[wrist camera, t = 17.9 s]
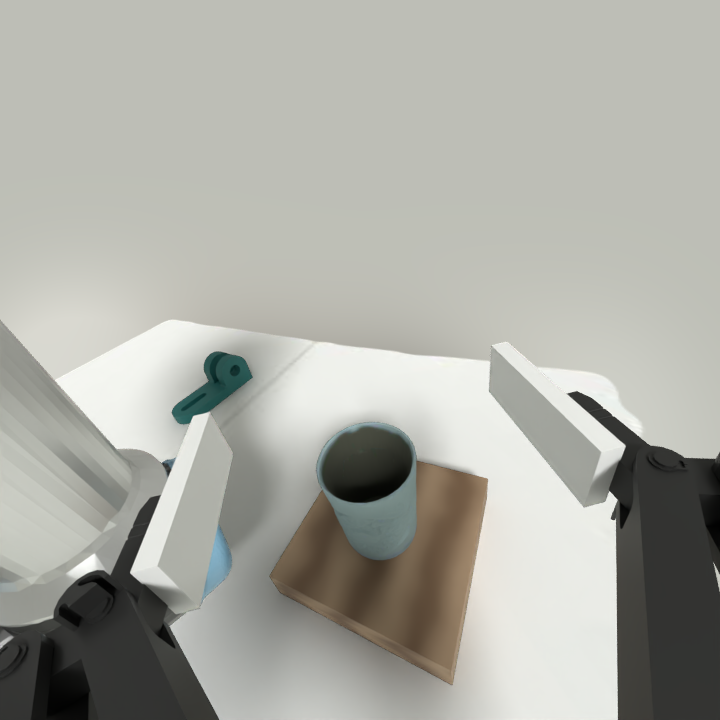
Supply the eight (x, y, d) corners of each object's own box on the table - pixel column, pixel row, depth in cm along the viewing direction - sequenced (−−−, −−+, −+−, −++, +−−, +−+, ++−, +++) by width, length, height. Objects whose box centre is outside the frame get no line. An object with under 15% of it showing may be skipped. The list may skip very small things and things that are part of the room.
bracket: (234, 372, 84) (222, 346, 80) (252, 377, 80) (241, 350, 76) (170, 419, 72) (152, 391, 68) (188, 428, 68) (170, 398, 64)
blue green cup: (391, 475, 45) (379, 409, 39) (443, 534, 37) (439, 463, 31) (326, 517, 42) (300, 452, 35) (368, 592, 34) (345, 526, 27)
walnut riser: (279, 592, 39) (269, 576, 37) (354, 461, 53) (350, 444, 51) (452, 685, 30) (451, 670, 28) (486, 497, 44) (487, 478, 42)
